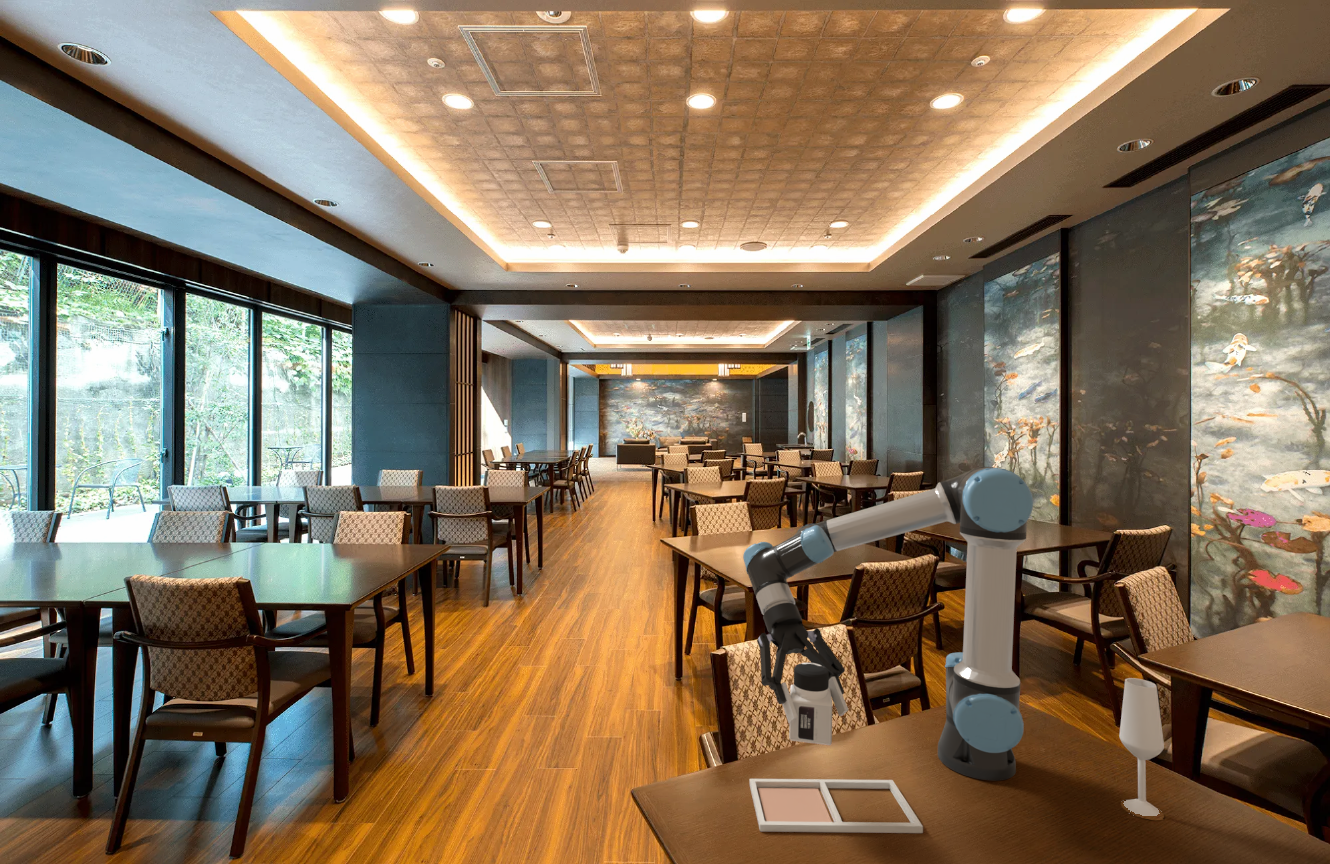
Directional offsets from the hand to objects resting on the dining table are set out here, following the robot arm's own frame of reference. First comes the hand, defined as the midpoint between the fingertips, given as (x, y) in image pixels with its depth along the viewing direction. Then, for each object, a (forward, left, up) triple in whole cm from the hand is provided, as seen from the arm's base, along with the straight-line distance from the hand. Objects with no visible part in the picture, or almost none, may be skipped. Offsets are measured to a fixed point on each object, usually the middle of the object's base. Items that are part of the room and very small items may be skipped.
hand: (818, 716), depth 115 cm
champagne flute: (-62, -2, -18) cm, 64 cm away
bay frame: (-3, -2, -18) cm, 18 cm away
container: (+1, -3, -5) cm, 6 cm away
